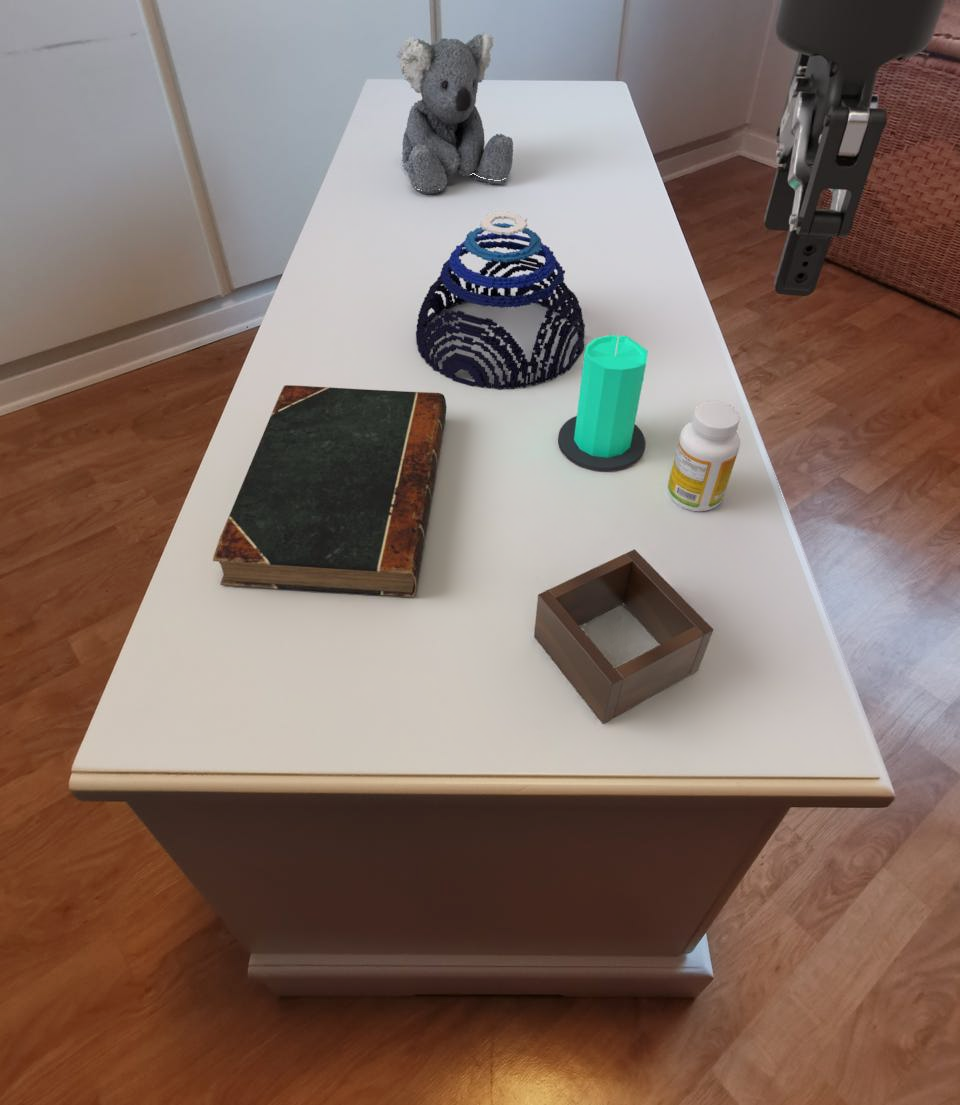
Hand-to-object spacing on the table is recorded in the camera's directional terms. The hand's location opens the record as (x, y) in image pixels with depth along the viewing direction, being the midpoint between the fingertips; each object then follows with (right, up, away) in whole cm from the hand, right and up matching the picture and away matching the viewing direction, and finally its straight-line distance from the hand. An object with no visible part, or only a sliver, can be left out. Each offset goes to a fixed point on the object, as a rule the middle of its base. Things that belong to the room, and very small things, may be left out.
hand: (785, 258), depth 48 cm
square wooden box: (-8, -27, +15) cm, 31 cm away
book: (-32, -13, +27) cm, 44 cm away
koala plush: (-24, +44, +80) cm, 94 cm away
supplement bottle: (+2, -13, +28) cm, 31 cm away
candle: (-6, -7, +32) cm, 34 cm away
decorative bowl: (-17, +7, +46) cm, 49 cm away
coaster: (-6, -7, +33) cm, 34 cm away
